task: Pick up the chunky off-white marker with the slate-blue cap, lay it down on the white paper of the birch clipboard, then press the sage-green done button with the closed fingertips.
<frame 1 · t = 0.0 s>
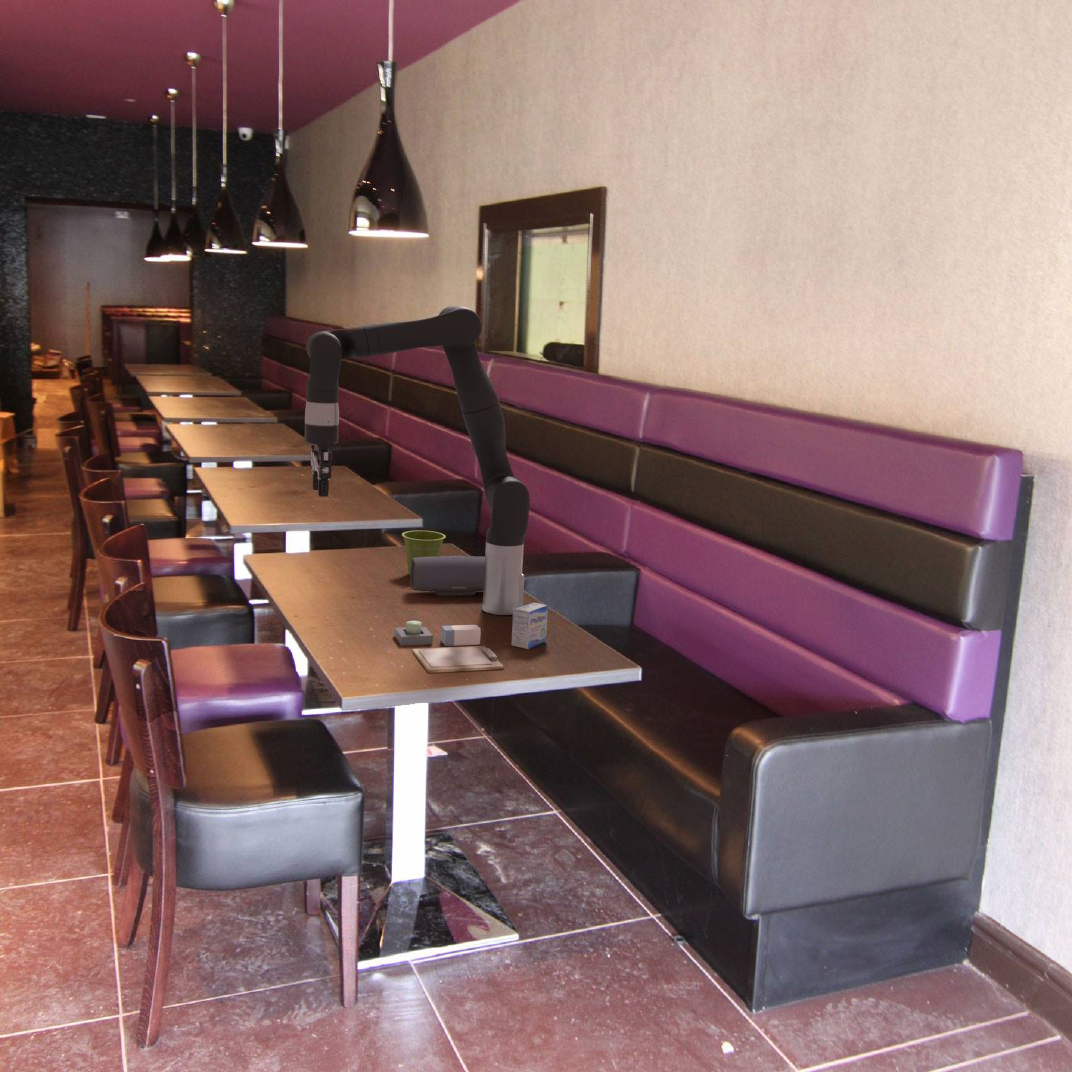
hand: (320, 493, 255), 29 cm above the table, fingers open, 8 cm apart
medicine box: (528, 644, 250), on the table
bluetooth speaker: (455, 594, 289), on the table
button housing: (413, 640, 248), on the table
done button: (413, 628, 247), point 3 cm above the table, slide at 0.0 cm
marker: (460, 642, 248), on the table
plant pot: (422, 575, 306), on the table
clipboard: (457, 660, 236), on the table
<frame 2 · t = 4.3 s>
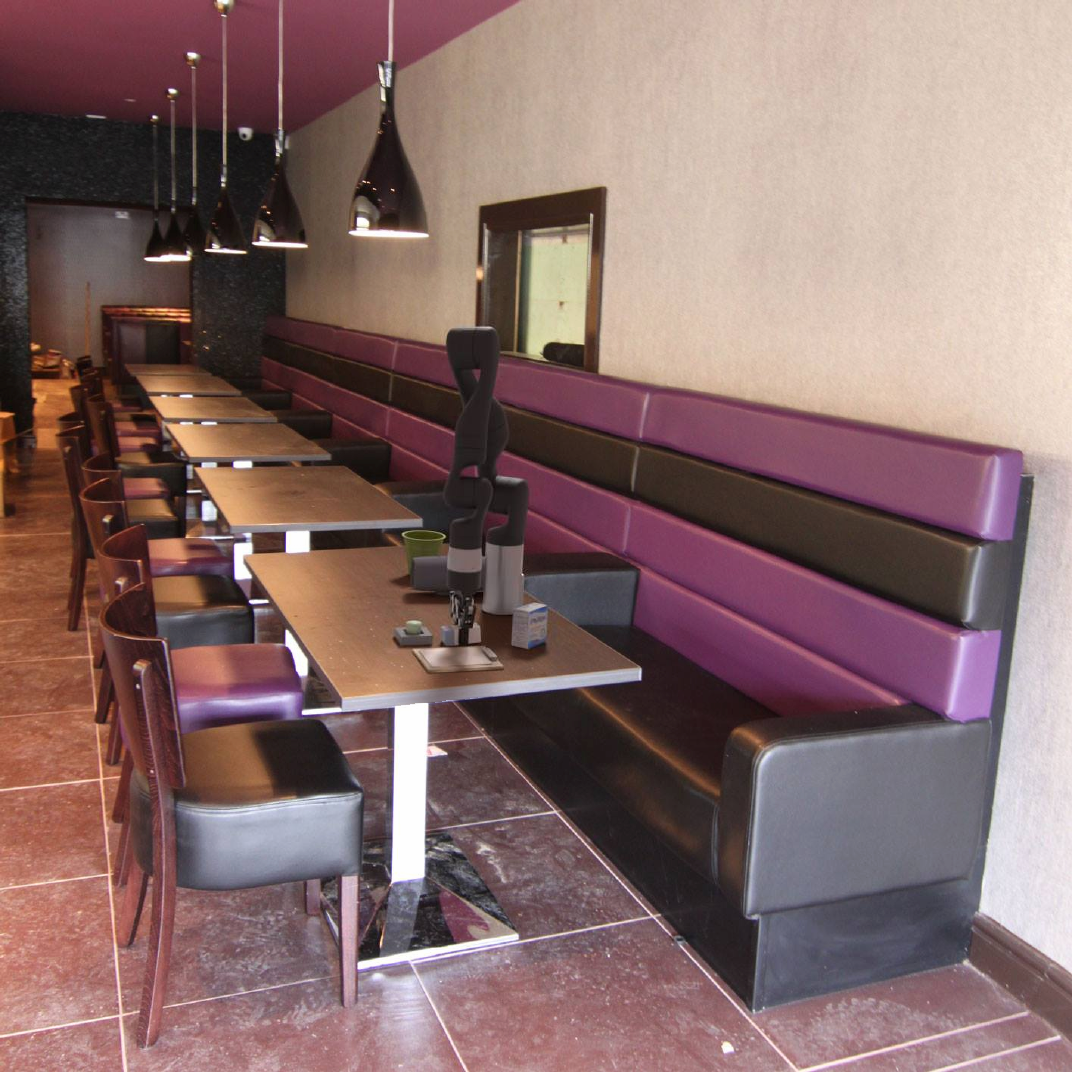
hand: (460, 641, 248), 0 cm above the table, fingers closed on marker, 3 cm apart
marker: (461, 641, 248), on the table, touching gripper
everything else where it was.
when the fingers open (2 cm above the table, at t = 9.1 s): marker drops 1 cm, resting on clipboard.
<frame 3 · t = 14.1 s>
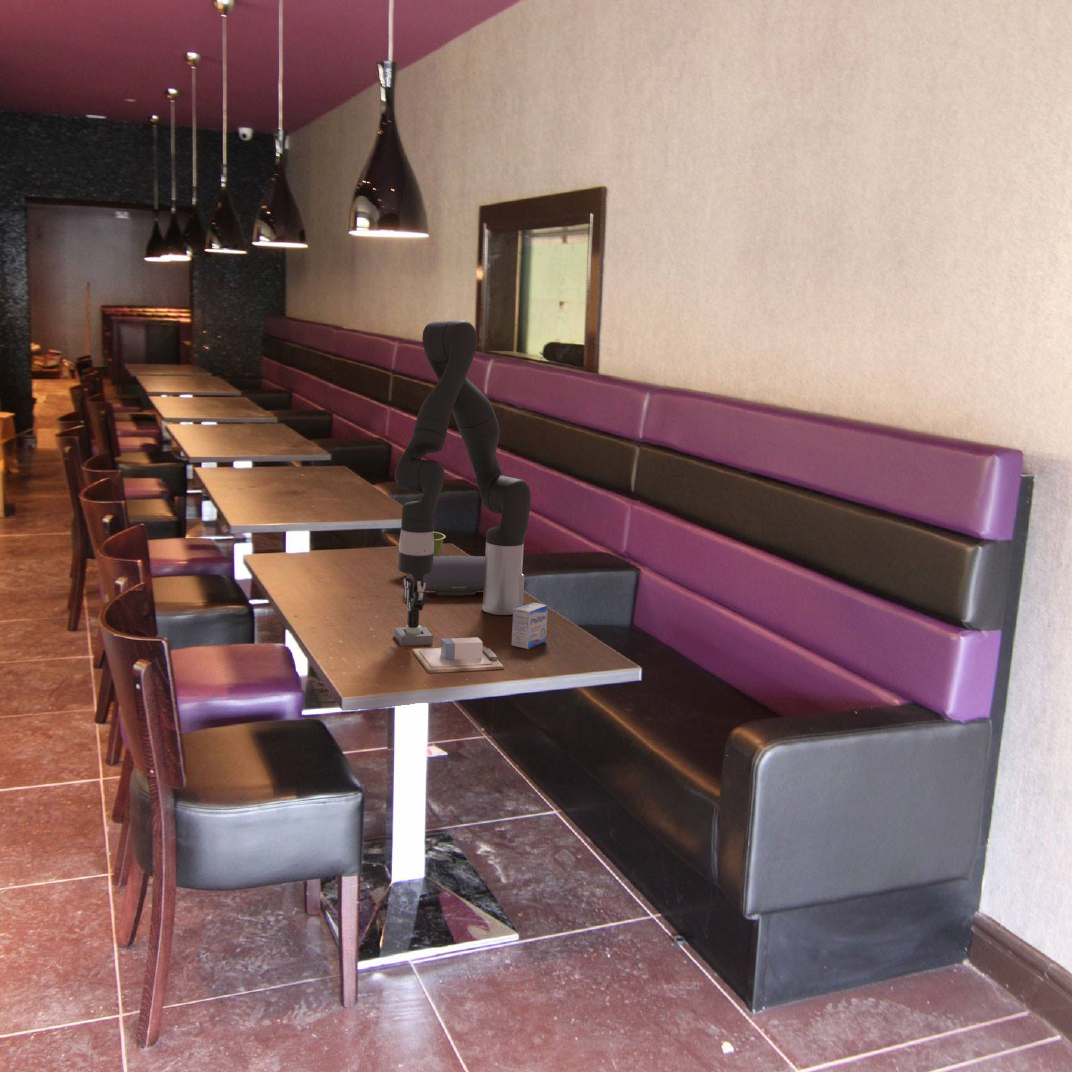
hand: (412, 626, 247), 3 cm above the table, fingers closed
done button: (413, 632, 247), point 2 cm above the table, slide at 0.9 cm, touching gripper
marker: (461, 656, 236), point 1 cm above the table, touching clipboard
everything else where it was.
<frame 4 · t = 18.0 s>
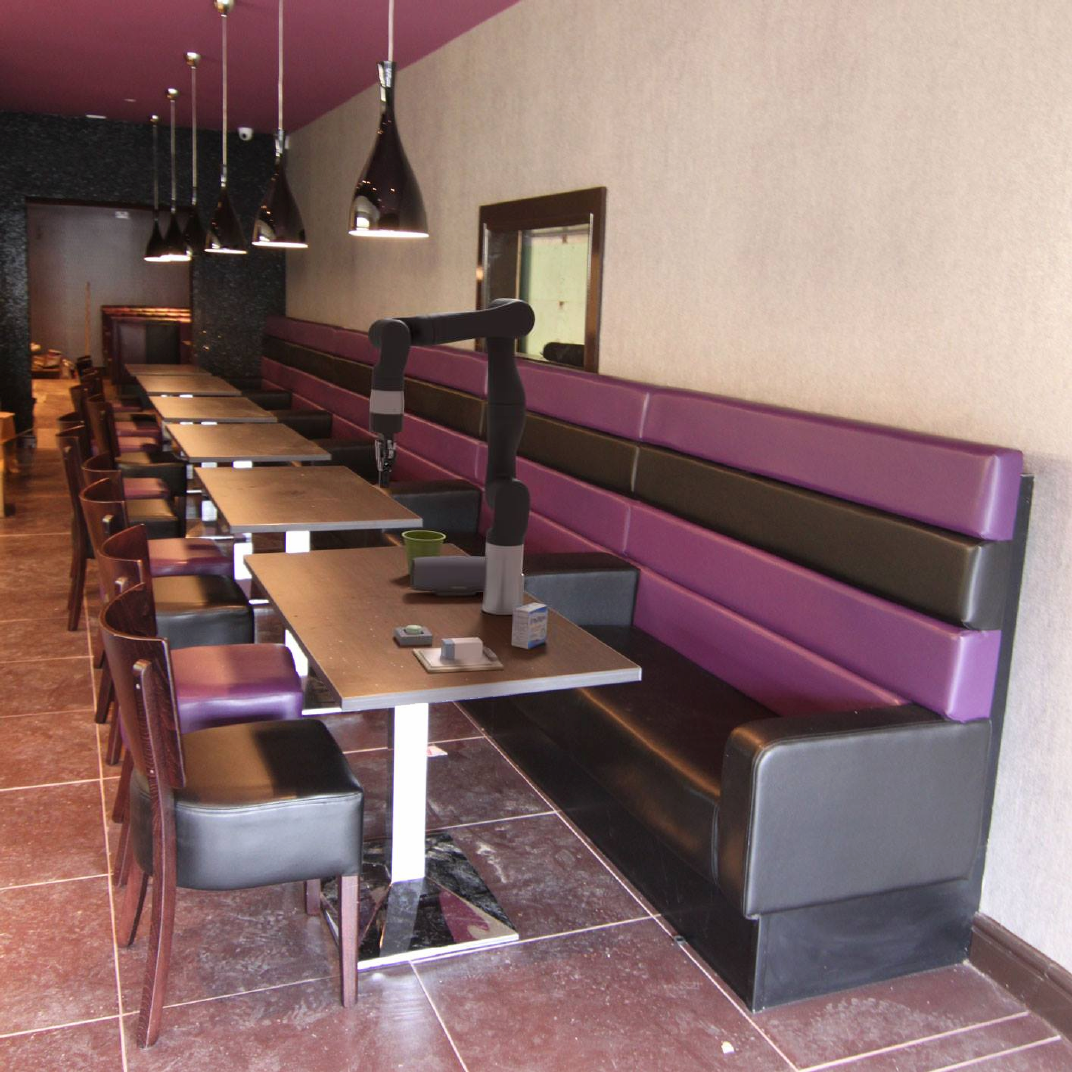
hand: (384, 487, 251), 32 cm above the table, fingers closed
done button: (413, 633, 247), point 2 cm above the table, slide at 1.0 cm
everything else where it was.
at the end: marker inside the target area on the clipboard (0.8 cm from its centre), point 0.8 cm above the clipboard's base; the gripper is holding nothing; done button slide at 1.0 cm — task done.
